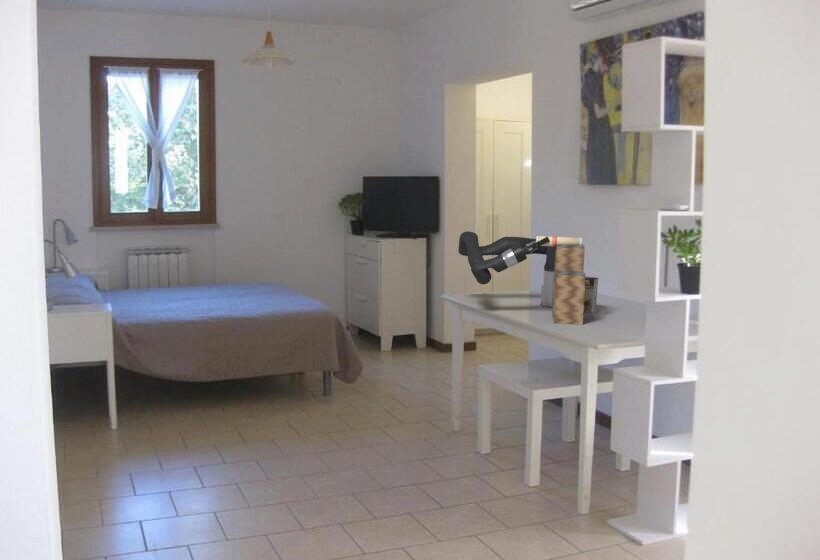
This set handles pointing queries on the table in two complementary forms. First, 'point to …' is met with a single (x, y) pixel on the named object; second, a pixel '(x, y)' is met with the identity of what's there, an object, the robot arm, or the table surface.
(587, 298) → the coffee box
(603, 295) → the table surface
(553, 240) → the cream long cylinder
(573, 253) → the stand
